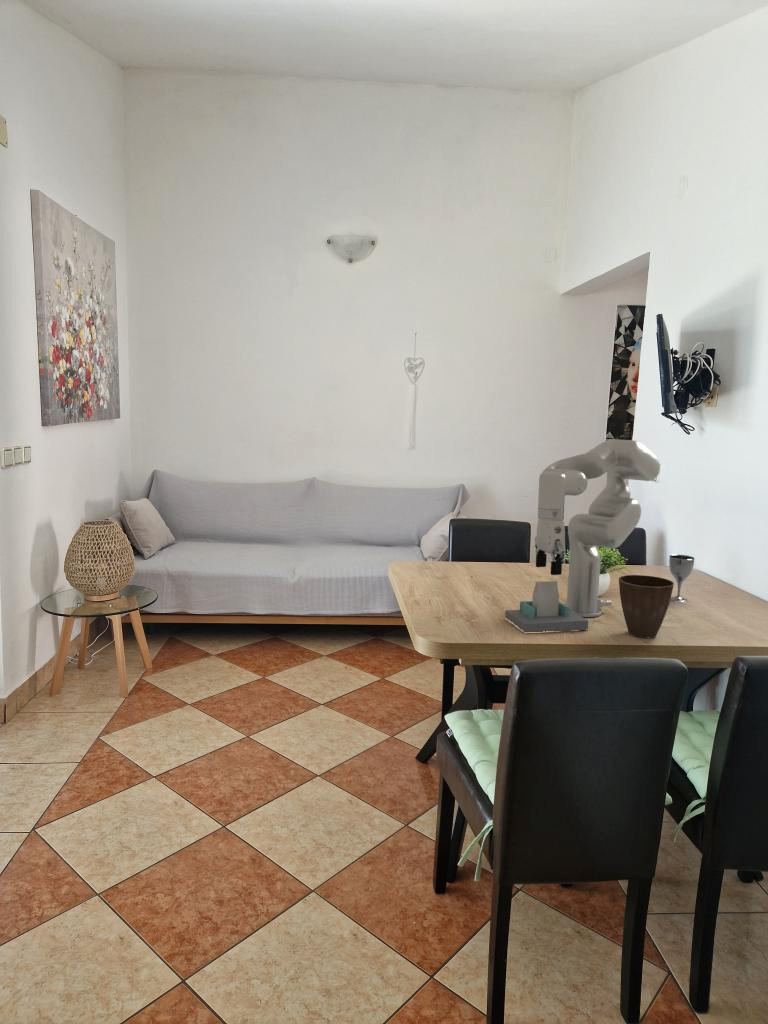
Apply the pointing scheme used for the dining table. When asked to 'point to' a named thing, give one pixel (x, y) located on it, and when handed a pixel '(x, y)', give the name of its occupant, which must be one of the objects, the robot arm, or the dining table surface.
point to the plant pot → (644, 603)
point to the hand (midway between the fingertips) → (548, 570)
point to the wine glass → (680, 571)
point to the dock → (546, 619)
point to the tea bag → (546, 598)
